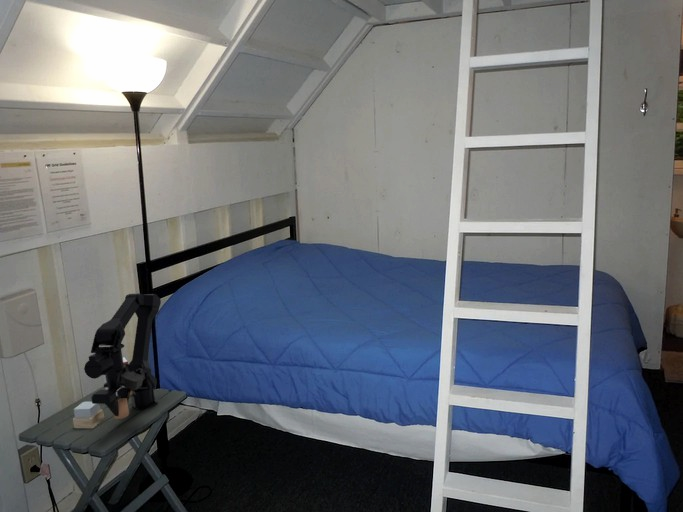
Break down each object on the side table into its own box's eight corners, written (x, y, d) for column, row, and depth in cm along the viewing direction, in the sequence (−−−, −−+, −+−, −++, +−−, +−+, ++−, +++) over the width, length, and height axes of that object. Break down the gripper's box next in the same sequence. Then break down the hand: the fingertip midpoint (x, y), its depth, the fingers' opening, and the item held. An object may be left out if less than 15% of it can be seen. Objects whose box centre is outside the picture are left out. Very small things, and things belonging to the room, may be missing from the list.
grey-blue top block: (84, 410, 181) (83, 401, 180) (100, 409, 180) (99, 401, 179) (75, 418, 175) (73, 409, 175) (91, 417, 175) (89, 408, 174)
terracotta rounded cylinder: (125, 411, 178) (123, 396, 177) (131, 414, 175) (129, 400, 174) (111, 416, 175) (109, 401, 174) (117, 420, 172) (115, 405, 171)
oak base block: (86, 419, 182) (85, 409, 181) (104, 419, 181) (103, 409, 180) (74, 428, 175) (72, 418, 175) (92, 428, 174) (91, 418, 174)
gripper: (120, 377, 162) (127, 426, 164) (152, 354, 180) (159, 399, 182) (86, 377, 164) (94, 426, 166) (121, 355, 182) (128, 399, 184)
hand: (121, 412), depth 175 cm, fingers closed on terracotta rounded cylinder, 4 cm apart
